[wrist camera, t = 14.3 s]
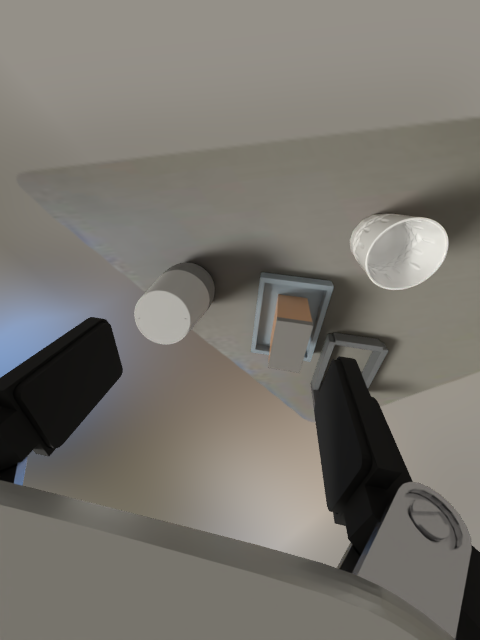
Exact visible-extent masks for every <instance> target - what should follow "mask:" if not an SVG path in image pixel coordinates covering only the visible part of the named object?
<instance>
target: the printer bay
mask: <svg viewBox="0 0 480 640" xmlns="http://www.w3.org/2000/svg"><path fill="white" fill-rule="evenodd" d="M334 345H340V346H347V347H353V348H360V349H366V350H373V351H372V353H371V355H370V357H369V360H368V362H367V364H366V366H365V368H364V370H363V372H362V376H363V379H364V381H365V383H366V386H367V388H369V386H370V384H371V382H372V380H373V379H374V377H375V375H376V373H377V371H378V369H379V367H380V365H381V364H382V362H383V360H384V358H385V356H386V354H387V352H388V349H387V347H386V346H385V344H384V343H383V342H380V341H379V339H375V338H368V337H361V336H354V335H348V334H341V333H333V335H332V334H327V337H326V340H325V343H324V346H323V349H322V352H321V355H320V358H319V361H318V363H317V366H316V369H315V372H314V375H313V378H312V381H311V391H312V398H313V405H314V409H315V403H316V401H317V398H318V395H319V393H320V390H321V387H322V385H323V383H322V382H321V381H322V378H323V375H324V372H325V370H326V367H327V364H328V362H329V359H330V356H331V353H332V351H333V348H334Z"/></svg>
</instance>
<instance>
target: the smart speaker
mask: <svg viewBox="0 0 480 640" xmlns="http://www.w3.org/2000/svg"><path fill="white" fill-rule="evenodd" d="M214 293H215V287H214V283H213V280H212V278H211V276H210V275H209V273H208V272H207V271H206V270H205V269H204V268H202V267H201V266H199V265H196V264H193V263H180V264H177V265H174V266H172V267H171V268H169V269H168V270H167V271H165V272H164V273H163V274H162V275H161V276H160V277H159V278H158V279H157V280H156V281H155V283H154V284H153V285H152V286H151V287H150V288H149V289H148V290H147V291H146V293H145V294H144V295H143V296H142V297H141V298H140V299H139V301H138V302H137V305H136V307H135V314H134V315H135V321H136V324H137V327H138V328H139V330H140V331H141V333H142V334H143V335H144V336H145V337H146V338H148V339H149V340H151V341H153V342H155V343H159V344H173V343H176V342H178V341H180V340H181V339H183V338H184V337H185V336H186V335H187V333H188V332H189V331H190V330H191V329H192V328H193V326H194V325H195V324H196V323H197V322H198V321H199V319H200V318H201V317H202V316H203V315H204V313H205V312H206V311H207V310H208V308H209V307H210V305H211V303H212V301H213V298H214Z"/></svg>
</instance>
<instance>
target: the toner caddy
mask: <svg viewBox="0 0 480 640" xmlns="http://www.w3.org/2000/svg"><path fill="white" fill-rule="evenodd" d="M312 328H313V322H312V318H311V313H310V308H309V304H308V299H307V298H303V297H295V296H288V295H281V294H278V298H277V304H276V309H275V315H274V321H273V326H272V332H271V339H270V351H269V363H268V368H272V369H278V370H284V371H290V372H296V373H300V370H301V366H302V363H303V359H304V356H305V352H306V349H307V345H308V342H309V339H310V335H311V332H312Z"/></svg>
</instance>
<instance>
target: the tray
mask: <svg viewBox="0 0 480 640" xmlns="http://www.w3.org/2000/svg"><path fill="white" fill-rule="evenodd" d="M333 288H334V286H333V284H332V282H331V281H328V280H320V279H312V278H304V277H296V276H288V275H280V274H272V273H264V272H261V276H260V283H259V291H258V299H257V307H256V315H255V323H254V331H253V339H252V347H251V352H254V353H260V354H266V355H269V351H270V339H271V332H272V326H273V321H274V315H275V309H276V304H277V298H278V294H281V295H288V296H295V297H303V298H307V299H308V304H309V308H310V313H311V318H312V322H313V328H312V332H311V335H310V339H309V342H308V345H307V349H306V352H305V356H304V359H303V361H309V362H310V361H311V358H312V355H313V352H314V349H315V345H316V342H317V339H318V336H319V333H320V330H321V326H322V323H323V320H324V317H325V314H326V310H327V307H328V304H329V301H330V298H331V294H332V291H333Z"/></svg>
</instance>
